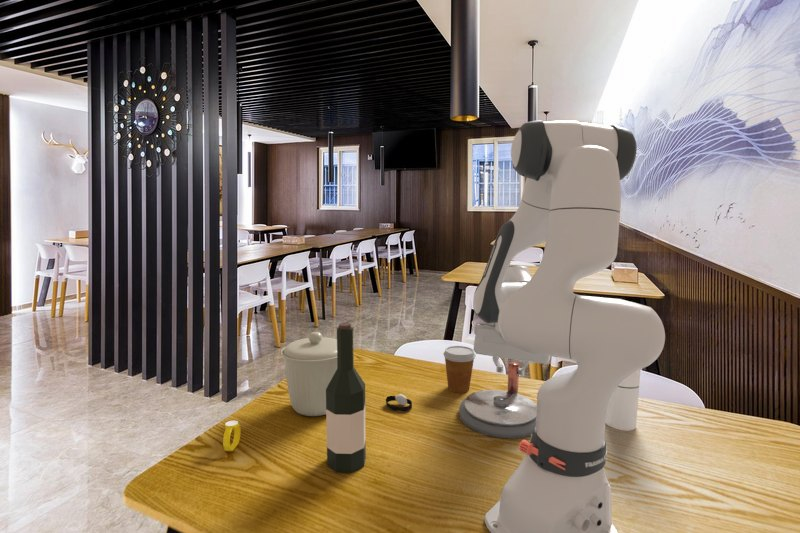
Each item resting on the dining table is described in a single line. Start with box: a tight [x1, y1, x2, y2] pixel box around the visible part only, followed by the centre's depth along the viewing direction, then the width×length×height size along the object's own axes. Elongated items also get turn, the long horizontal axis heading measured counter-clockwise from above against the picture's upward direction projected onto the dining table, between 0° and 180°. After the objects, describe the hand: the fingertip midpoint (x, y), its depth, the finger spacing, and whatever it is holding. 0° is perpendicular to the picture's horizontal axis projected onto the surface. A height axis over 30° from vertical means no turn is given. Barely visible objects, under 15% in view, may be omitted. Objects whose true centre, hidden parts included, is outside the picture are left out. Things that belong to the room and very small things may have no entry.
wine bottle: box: [325, 322, 367, 474], centre depth 89 cm, size 8×8×30 cm
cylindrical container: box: [605, 369, 642, 431], centre depth 106 cm, size 7×7×25 cm
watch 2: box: [385, 393, 413, 412], centre depth 116 cm, size 8×5×4 cm, turn 63°
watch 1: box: [222, 420, 242, 452], centre depth 96 cm, size 6×3×6 cm, turn 177°
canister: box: [280, 331, 337, 417], centre depth 114 cm, size 18×18×21 cm
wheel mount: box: [459, 398, 536, 440], centre depth 110 cm, size 21×21×2 cm
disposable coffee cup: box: [443, 345, 477, 393], centre depth 128 cm, size 10×10×12 cm
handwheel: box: [464, 361, 537, 427], centre depth 110 cm, size 19×18×10 cm
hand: (510, 373), depth 117 cm, fingers open, 4 cm apart
